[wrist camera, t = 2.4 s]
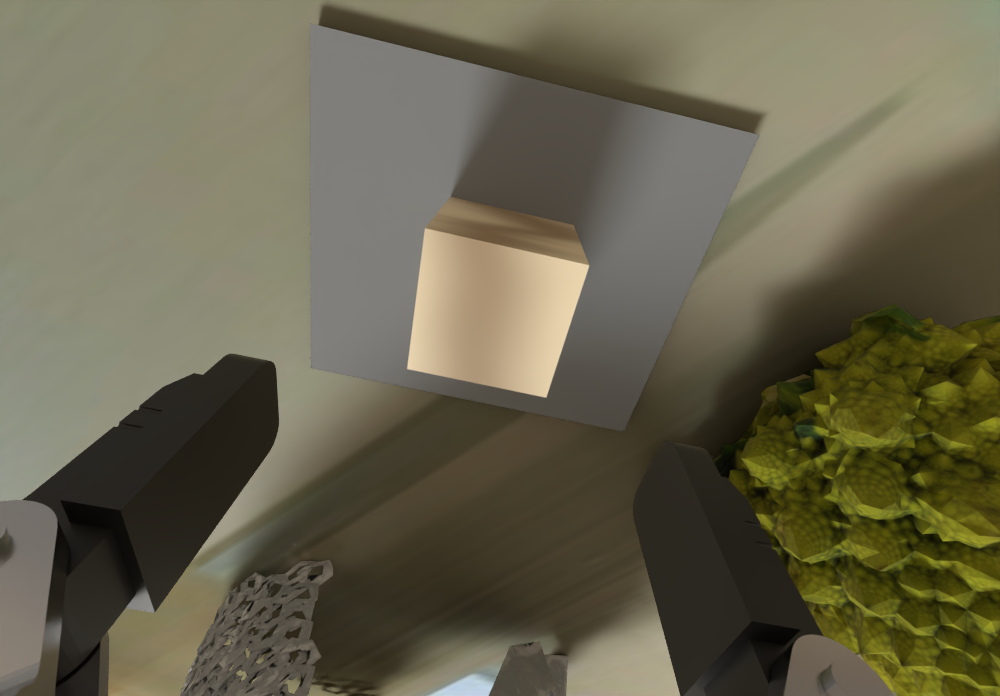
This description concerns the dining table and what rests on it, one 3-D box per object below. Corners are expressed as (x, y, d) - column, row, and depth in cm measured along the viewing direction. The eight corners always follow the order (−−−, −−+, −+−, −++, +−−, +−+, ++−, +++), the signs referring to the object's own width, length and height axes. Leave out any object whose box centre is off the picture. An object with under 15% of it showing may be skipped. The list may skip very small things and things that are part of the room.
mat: (752, 134, 16) (759, 135, 16) (621, 424, 23) (623, 431, 22) (317, 26, 15) (310, 23, 15) (315, 361, 22) (310, 367, 22)
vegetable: (596, 567, 23) (1004, 962, 9) (673, 280, 24) (1160, 206, 9) (793, 596, 27) (1268, 882, 13) (852, 356, 28) (1356, 384, 14)
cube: (573, 225, 18) (589, 265, 13) (541, 333, 20) (546, 397, 16) (450, 196, 17) (424, 228, 13) (433, 310, 20) (407, 368, 15)
